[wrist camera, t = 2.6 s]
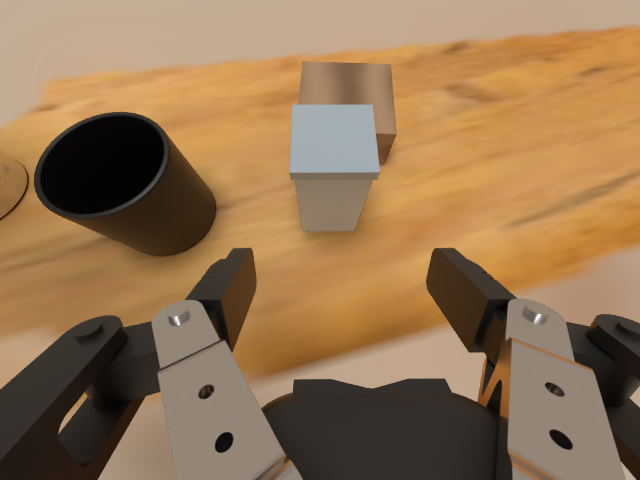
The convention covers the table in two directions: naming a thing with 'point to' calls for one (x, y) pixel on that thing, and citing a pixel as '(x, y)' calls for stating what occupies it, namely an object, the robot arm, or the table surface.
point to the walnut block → (353, 93)
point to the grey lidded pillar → (332, 163)
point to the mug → (125, 184)
